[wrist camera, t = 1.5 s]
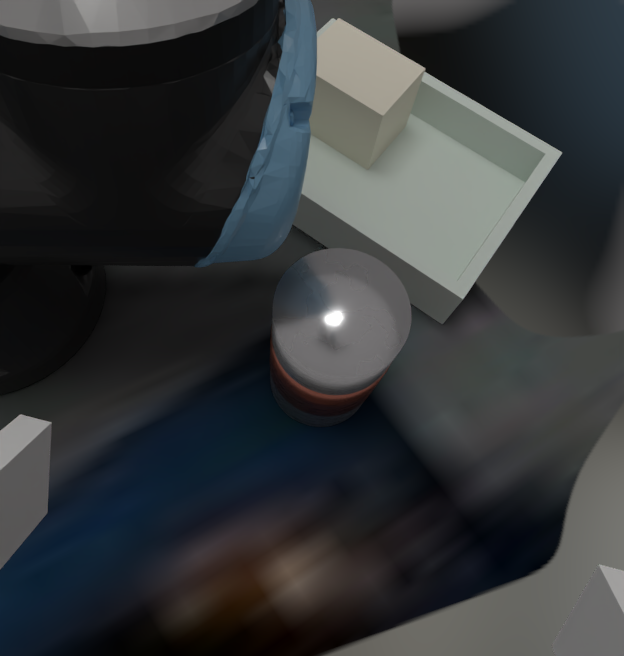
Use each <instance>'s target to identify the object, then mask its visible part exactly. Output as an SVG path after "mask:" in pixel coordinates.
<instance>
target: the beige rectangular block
mask: <svg viewBox="0 0 624 656" xmlns="http://www.w3.org/2000/svg"><path fill="white" fill-rule="evenodd" d="M424 71H425V68H423V67H422V66H420V65H419V64H417V63H415V62H413V61H412V60H410V59H408V58H407V57H405V56H403V55H401V54H400V53H398V52H396V51H395V50H393V49H391V48H389V47H388V46H386V45H384V44H383V43H381V42H379V41H377V40H376V39H374V38H372V37H371V36H369V35H367V34H365V33H364V32H362V31H360V30H359V29H357V28H355V27H353V26H352V25H350V24H348V23H347V22H345V21H343V20H341V19H340V18H338V19H337V20H336V21H335V22H334V23H333V24H332V25H331V26H330V27H329V28H328V29H327V30H326V31H325V32H324V33H323V34H321V35H320V36H319V37H318V38H317V73H316V88H315V94H314V100H313V106H312V113H311V116H310V118H309V123H310V130H311V135H313V136H314V137H316V138H318V139H319V140H321V141H322V142H324V143H326V144H327V145H329V146H330V147H332V148H333V149H335V150H337V151H338V152H340V153H341V154H343V155H345V156H346V157H348V158H349V159H351V160H352V161H354V162H356V163H357V164H359V165H360V166H362V167H364V168H365V169H367V170H368V169H369V168H370V167H371V166H372V165H373V163H374V162H375V161H376V160H377V159H378V158H379V157H380V155H381V154H382V153H383V152H384V151H385V150H386V148H387V147H388V146H389V145H390V144H391V143H392V142H393V140H394V139H395V138H396V137H397V136H398V135H399V133H400V132H401V131H402V130H403V129H404V128H405V127H406V124H407V121H408V118H409V115H410V112H411V110H412V107H413V104H414V101H415V98H416V95H417V92H418V89H419V86H420V83H421V80H422V77H423V74H424Z"/></svg>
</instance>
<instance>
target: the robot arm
mask: <svg viewBox="0 0 624 656" xmlns="http://www.w3.org/2000/svg"><path fill="white" fill-rule="evenodd" d="M316 73H317V32H316V23H315V16H314V10H313V6H312V3H311V1H310V0H0V394H5V393H9V392H12V391H15V390H18V389H21V388H24V387H26V386H29V385H31V384H33V383H35V382H37V381H39V380H41V379H43V378H45V377H46V376H48V375H49V374H51V373H53V372H54V371H55V370H57V369H58V368H60V367H61V366H62V365H63V364H64V363H66V362H67V361H68V360H69V359H70V358H71V357H72V356H73V355H74V354H75V353H76V352H77V351H78V350H79V349H80V348H81V346H82V345H83V344H84V343H85V341H86V340H87V338H88V337H89V336H90V334H91V332H92V331H93V329H94V327H95V325H96V323H97V321H98V318H99V316H100V313H101V310H102V307H103V303H104V298H105V288H106V279H105V271H104V266H103V265H125V266H195V267H206V266H208V265H210V264H212V263H222V262H235V261H249V260H257V259H261V258H264V257H267V256H269V255H270V254H272V253H273V252H274V251H276V250H277V249H278V248H279V247H280V246H281V244H282V243H283V242H284V240H285V239H286V237H287V236H288V234H289V232H290V229H291V227H292V224H293V222H294V219H295V216H296V212H297V209H298V205H299V201H300V197H301V193H302V188H303V182H304V177H305V172H306V166H307V160H308V153H309V145H310V137H311V130H310V123H309V118H310V116H311V113H312V106H313V100H314V94H315V88H316ZM51 427H52V422H48V421H44V420H40V419H36V418H33V417H29V416H25V415H21V414H20V415H19V416H18V417H16V418H15V419H14V420H13V421H12V422H10V423H9V424H8V425H7V426H6V427H4V428H3V429H2V430H1V431H0V569H1V568H2V567H3V565H4V564H5V563H6V562H7V561H8V560H9V558H10V557H11V556H12V555H13V554H14V552H15V551H16V550H17V549H18V548H19V546H20V545H21V544H22V543H23V542H24V540H25V539H26V538H27V537H28V536H29V534H30V533H31V532H32V531H33V530H34V528H35V527H36V526H37V525H38V524H39V522H40V521H41V520H42V519H43V518H44V516H45V515H46V514H47V510H48V489H49V468H50V447H51ZM552 648H553V651H554V653H555V656H624V571H622V570H618V569H614V568H611V567H607V566H603V565H598V566H597V568H596V570H595V571H594V573H593V575H592V577H591V578H590V580H589V582H588V584H587V585H586V587H585V589H584V590H583V592H582V594H581V595H580V597H579V599H578V601H577V602H576V604H575V606H574V608H573V609H572V611H571V613H570V615H569V616H568V618H567V620H566V622H565V623H564V625H563V627H562V628H561V630H560V632H559V633H558V635H557V637H556V639H555V640H554V642H553V644H552Z"/></svg>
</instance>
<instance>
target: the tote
mask: <svg viewBox="0 0 624 656" xmlns="http://www.w3.org/2000/svg"><path fill="white" fill-rule="evenodd" d="M335 21H336V20H335V19H333V18H332V19H331V20H330V21H329V22H328V23H327V24H326V25H325V26H323V27H322V28H321V29H320V30H319V31H318V32H317V38H318V37H319V36H320V35H321V34H323V33H324V32H325V31H326V30H327V29H328V28H329V27H330V26H331V25H332V24H333V23H334V22H335ZM561 154H562V152H560V151H559V150H557V149H555V148H554V147H552V146H550V145H548V144H547V143H545V142H543V141H542V140H540V139H538V138H536V137H535V136H533V135H531V134H529V133H528V132H526V131H525V130H523V129H521V128H519V127H517V126H516V125H514V124H512V123H511V122H509V121H507V120H506V119H504V118H502V117H501V116H499V115H497V114H496V113H494V112H492V111H490V110H489V109H487V108H485V107H483V106H482V105H480V104H478V103H477V102H475V101H473V100H472V99H470V98H468V97H466V96H465V95H463V94H461V93H460V92H458V91H456V90H455V89H453V88H451V87H449V86H448V85H446V84H444V83H443V82H441V81H439V80H437V79H436V78H434V77H432V76H431V75H429V74H427V73H425V72H424V74H423V77H422V80H421V83H420V86H419V89H418V92H417V95H416V98H415V101H414V104H413V107H412V110H411V112H410V115H409V118H408V121H407V124H406V127H405V128H404V129H403V130H402V131H401V132H400V133H399V135H398V136H397V137H396V138H395V139H394V140H393V142H392V143H391V144H390V145H389V146H388V147H387V148H386V150H385V151H384V152H383V153H382V154H381V155H380V157H379V158H378V159H377V160H376V161H375V162H374V163H373V165H372V166H371V167H370V168H369V169H368V170H367V169H365V168H364V167H362V166H360V165H359V164H357V163H356V162H354V161H352V160H351V159H349V158H348V157H346V156H345V155H343V154H341V153H340V152H338V151H337V150H335V149H333V148H332V147H330V146H329V145H327V144H326V143H324V142H322V141H321V140H319V139H318V138H316V137H314V136H313V135H311V137H310V145H309V153H308V160H307V166H306V172H305V177H304V182H303V188H302V193H301V197H300V201H299V205H298V209H297V212H296V216H295V219H294V222H293V225H294V226H296V227H297V228H299V229H300V230H302V231H303V232H305V233H306V234H308V235H309V236H311V237H312V238H314V239H315V240H317V241H318V242H320V243H321V244H323V245H324V246H326V247H327V248H329V249H330V248H345V249H352V250H357V251H360V252H363V253H366V254H368V255H371V256H373V257H375V258H376V259H378V260H380V261H381V262H383V263H384V264H385V265H387V266H388V267H389V268H390V269H391V270H392V271H393V272H394V273H395V274H396V276H397V277H398V278H399V279H400V281H401V282H402V284H403V286H404V288H405V290H406V292H407V294H408V297H409V300H410V303H411V304H412V305H414V306H415V307H417V308H418V309H420V310H421V311H423V312H424V313H426V314H427V315H429V316H430V317H432V318H433V319H435V320H436V321H438V322H439V323H441V324H442V325H443V323H444V322H445V321H446V320H447V318H448V317H449V316H450V315H451V314H452V312H453V311H454V310H455V309H456V307H457V306H458V305H459V304H460V303H461V301H462V300H463V299H464V297H465V296H466V294H467V293H468V291H469V290H470V289H471V287H472V286H473V284H474V283H475V281H476V280H477V278H478V276H479V275H480V274H481V272H482V271H483V269H484V268H485V266H486V265H487V263H488V262H489V260H490V259H491V257H492V256H493V254H494V253H495V251H496V250H497V249H498V247H499V246H500V244H501V243H502V241H503V240H504V238H505V237H506V235H507V234H508V232H509V231H510V229H511V228H512V226H513V225H514V223H515V222H516V220H517V219H518V217H519V216H520V215H521V213H522V211H523V210H524V209H525V207H526V206H527V204H528V203H529V201H530V199H531V198H532V196H533V195H534V194H535V192H536V191H537V189H538V188H539V186H540V185H541V183H542V182H543V180H544V179H545V177H546V176H547V174H548V173H549V172H550V170H551V169H552V167H553V166H554V164H555V163H556V161H557V160H558V158H559V157H560V155H561Z"/></svg>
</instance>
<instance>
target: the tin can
mask: <svg viewBox="0 0 624 656" xmlns="http://www.w3.org/2000/svg"><path fill="white" fill-rule="evenodd" d="M411 319H412V316H411V305H410V300H409V297H408V294H407V292H406V290H405V288H404V286H403V284H402V282H401V281H400V279H399V278H398V277H397V276H396V274H395V273H394V272H393V271H392V270H391V269H390V268H389V267H388V266H387V265H385V264H384V263H383V262H381V261H380V260H378V259H376V258H375V257H373V256H371V255H368V254H366V253H363V252H360V251H357V250H352V249H345V248H330V249H324V250H320V251H316V252H313V253H311V254H308V255H306V256H304V257H303V258H301V259H299V260H298V261H296V262H295V263H294V264H293V265H292V266H291V267H290V268H289V269H288V270H287V271H286V272H285V273H284V275H283V276H282V277H281V279H280V281H279V283H278V285H277V288H276V290H275V293H274V298H273V308H272V325H271V337H270V385H271V390H272V393H273V396H274V398H275V400H276V402H277V403H278V405H279V406H280V408H281V409H282V410H283V411H284V412H285V413H286V414H287V415H288V416H289V417H291V418H292V419H294V420H296V421H298V422H300V423H302V424H305V425H308V426H314V427H328V426H333V425H336V424H339V423H341V422H343V421H345V420H347V419H348V418H350V417H351V416H352V415H353V414H354V413H355V412H356V411H357V410H358V409H359V408H360V406H361V405H362V404H363V402H364V401H365V400H366V399H367V397H368V396H369V395H370V394H371V392H372V391H373V390H374V388H375V387H376V385H377V384H378V383H379V381H380V380H381V378H382V377H383V376H384V374H385V373H386V371H387V370H388V368H389V366H390V365H391V363H392V361H393V360H394V359H395V357H396V356H397V354H398V353H399V352H400V350H401V349H402V347H403V345H404V344H405V342H406V340H407V337H408V335H409V331H410V327H411Z"/></svg>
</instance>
